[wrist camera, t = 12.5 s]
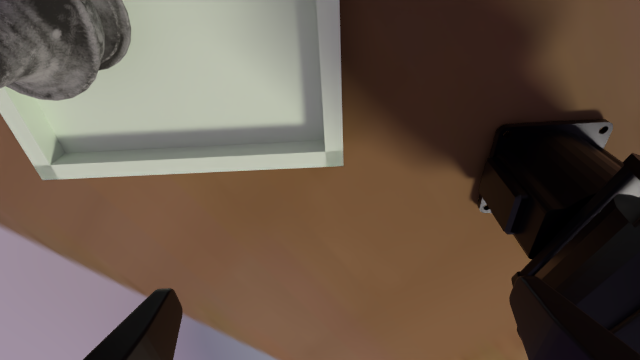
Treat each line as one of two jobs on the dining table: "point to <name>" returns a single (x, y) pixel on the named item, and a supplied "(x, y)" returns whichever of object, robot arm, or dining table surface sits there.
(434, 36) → the dining table surface
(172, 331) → the robot arm
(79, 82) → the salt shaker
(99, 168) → the tray
